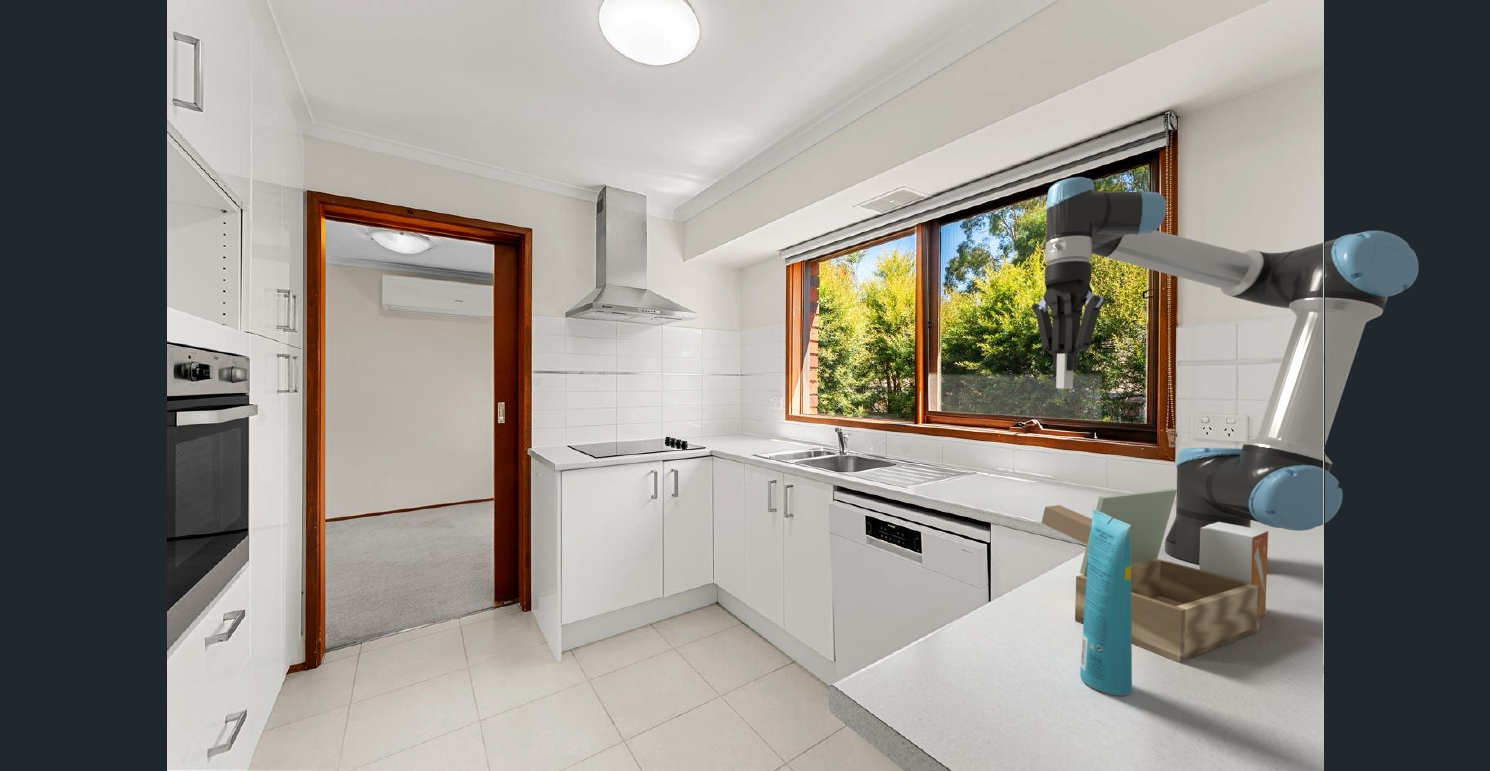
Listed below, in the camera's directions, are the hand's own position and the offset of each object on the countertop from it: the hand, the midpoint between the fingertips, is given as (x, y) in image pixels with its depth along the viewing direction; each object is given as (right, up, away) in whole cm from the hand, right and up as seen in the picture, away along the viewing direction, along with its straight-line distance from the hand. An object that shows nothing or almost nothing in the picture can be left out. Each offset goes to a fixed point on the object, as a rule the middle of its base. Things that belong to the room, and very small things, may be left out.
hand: (1064, 388), depth 100 cm
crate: (+1, -34, -23) cm, 42 cm away
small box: (+16, -35, -17) cm, 42 cm away
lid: (-1, -22, -19) cm, 29 cm away
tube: (-19, -34, -40) cm, 56 cm away
